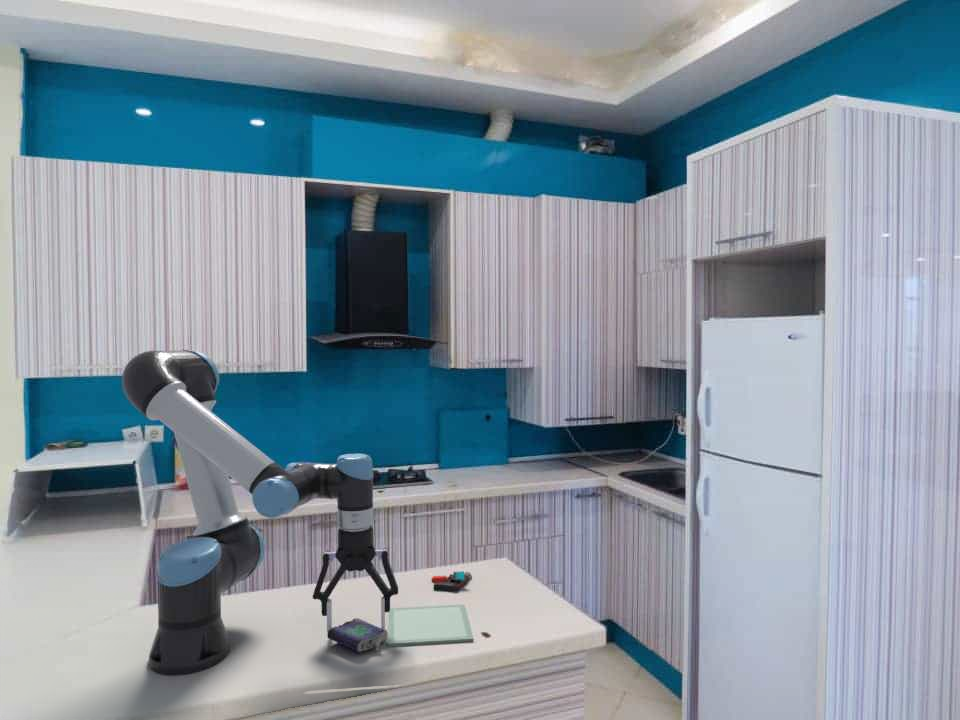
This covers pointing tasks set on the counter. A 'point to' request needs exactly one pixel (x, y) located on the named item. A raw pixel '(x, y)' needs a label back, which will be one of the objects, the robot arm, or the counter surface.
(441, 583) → the toy gun
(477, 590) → the counter surface
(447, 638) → the mat
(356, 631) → the blue clover box
